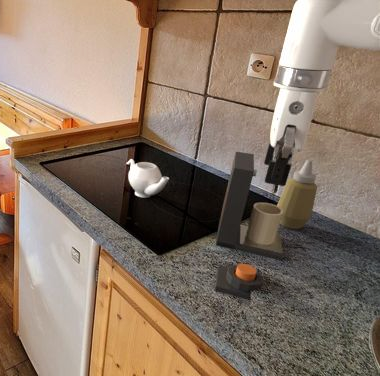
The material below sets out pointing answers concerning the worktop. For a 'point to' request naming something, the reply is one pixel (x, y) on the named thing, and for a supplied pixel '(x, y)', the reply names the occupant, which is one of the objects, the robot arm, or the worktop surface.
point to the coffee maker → (233, 211)
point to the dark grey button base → (236, 282)
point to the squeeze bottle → (298, 198)
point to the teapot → (146, 179)
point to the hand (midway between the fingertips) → (273, 174)
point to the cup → (264, 223)
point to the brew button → (246, 272)
